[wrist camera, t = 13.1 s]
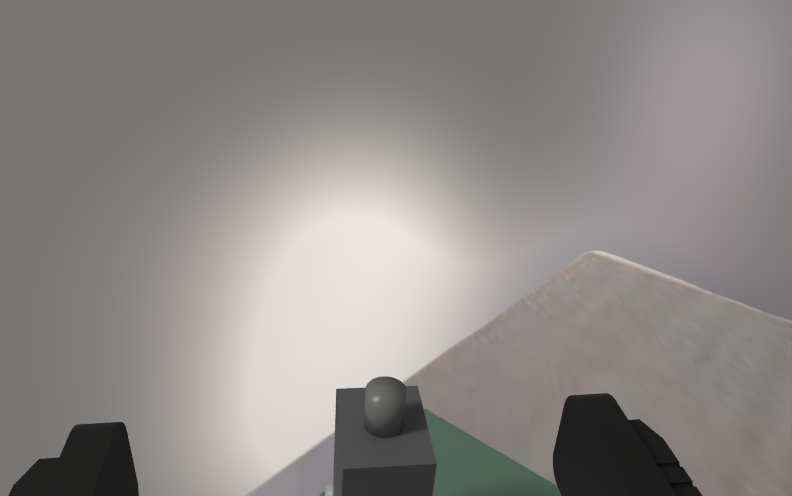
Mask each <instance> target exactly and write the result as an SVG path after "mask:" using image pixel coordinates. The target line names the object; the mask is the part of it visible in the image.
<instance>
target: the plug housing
mask: <svg viewBox="0 0 792 496" xmlns="http://www.w3.org/2000/svg"><path fill="white" fill-rule="evenodd" d="M436 467H437V462H436V458H435V454H434V450H433V446H432V442H431V438H430V434H429V430H428V426H427V422H426V418H425V414H424V410H423V406H422V402H421V398H420V394H419V390H418V386H405V385H404V384H403V383H402V382H401V381H399V380H397V379H395V378H392V377H378V378H375V379H373V380H371V381H370V382H369V383H368V384H367V386H366V388H348V389H336V419H335V448H334V478H333V496H433V488H434V481H435V474H436Z"/></svg>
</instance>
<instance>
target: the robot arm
mask: <svg viewBox="0 0 792 496" xmlns="http://www.w3.org/2000/svg"><path fill="white" fill-rule="evenodd" d="M553 469H554V475H555V480H556V483H557V486H558V488H559V491H560V493H561V495H562V496H702V495H701V493H700V492H699V490H698V489H697V487H694V486H693V484H692V482H693V481H692V480H691V479H690V477H689V476H688V474H687V473H686V471H685V470H684V468H683V467H680V465H679V461H678V460H677V458H676V457H675V455H674V454H673V452H672V451H671V449H670V448H669V446H668V445H667V444H666V442H665V441H664V439H663V438H662V437H660V436H659V435H658V434H657V433H655V432H654V431H653V430H652V429H650V428H649V427H648V426H647V425H646V424H644V423H643V422H642V421H641V420H639V419H637V420H628V419H627V417H626V416H625V414H624V413H623V411H622V410H621V408H620V406H619V405H618V403H617V402H616V400H615V399H614V398H613V397H612V396H611V395H610V394H607V393H604V394H587V395H572V396H569V397H568V398H567V399H566V401H565V404H564V408H563V413H562V417H561V422H560V426H559V430H558V435H557V439H556V444H555V448H554V453H553ZM9 496H139V494H138V482H137V477H136V473H135V468H134V463H133V458H132V454H131V449H130V444H129V439H128V434H127V430H126V427H125V424H124V423H123V422H114V423H113V422H112V423H96V424H80V425H75V426H74V427H73V429H72V430H71V432H70V434H69V437H68V439H67V441H66V444H65V446H64V448H63V451H62V453H61V455H60V458H47V459H39V460H38V461H37V462H36V463H35V464H34V465H33V466H32V467H31V468H30V469H29V470H28V471H27V472H26V473H25V474H24V475H23V476H22V477H21V478H20V479H19V480H18V481H17V482H16V483H15V484H14V485H13V487H12V489H11V492H10V494H9Z"/></svg>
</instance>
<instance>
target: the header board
mask: <svg viewBox="0 0 792 496" xmlns="http://www.w3.org/2000/svg"><path fill="white" fill-rule="evenodd" d="M424 414H425V418H426V422H427V426H428V430H429V434H430V438H431V442H432V446H433V450H434V454H435V458H436V462H437V467H436V474H435V481H434V488H433V496H562V495H561V493H560V491H559V488H558V486H556V485H554V484H553V483H551V482H549V481H548V480H546V479H544V478H542V477H541V476H539V475H537V474H536V473H534V472H532V471H530V470H529V469H527V468H525V467H524V466H522V465H520V464H518V463H517V462H515V461H513V460H512V459H510V458H508V457H507V456H505V455H503V454H501V453H500V452H498V451H496V450H495V449H493V448H491V447H489V446H488V445H486V444H484V443H483V442H481V441H479V440H477V439H476V438H474V437H472V436H471V435H469V434H467V433H466V432H464V431H462V430H460V429H459V428H457V427H455V426H454V425H452V424H450V423H448V422H447V421H445V420H443V419H442V418H440V417H438V416H436V415H435V414H433V413H431V412H430V411H428V410H426V409H424ZM320 496H333V483H330V484H328V485H327V486H326V489H325V491H324V492H323V493H322V494H321V495H320Z"/></svg>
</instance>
